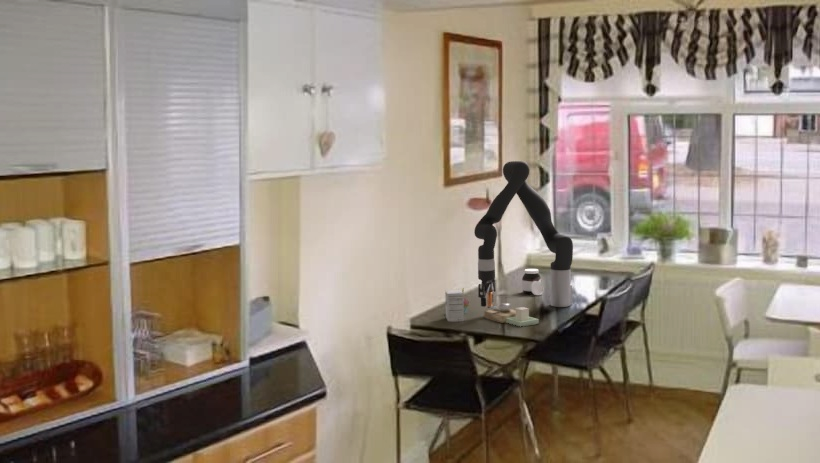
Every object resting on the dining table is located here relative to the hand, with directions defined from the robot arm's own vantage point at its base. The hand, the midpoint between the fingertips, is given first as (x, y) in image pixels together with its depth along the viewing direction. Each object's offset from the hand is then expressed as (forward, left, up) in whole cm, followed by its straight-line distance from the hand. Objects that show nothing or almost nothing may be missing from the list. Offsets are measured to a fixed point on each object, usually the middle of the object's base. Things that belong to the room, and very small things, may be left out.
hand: (487, 304), depth 437 cm
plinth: (-4, +8, -6) cm, 10 cm away
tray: (-4, +20, -6) cm, 21 cm away
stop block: (-4, +20, -5) cm, 21 cm away
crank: (-3, +4, -2) cm, 5 cm away
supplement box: (+15, -4, -6) cm, 17 cm away
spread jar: (-49, -27, -6) cm, 56 cm away
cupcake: (+6, -13, -6) cm, 15 cm away
